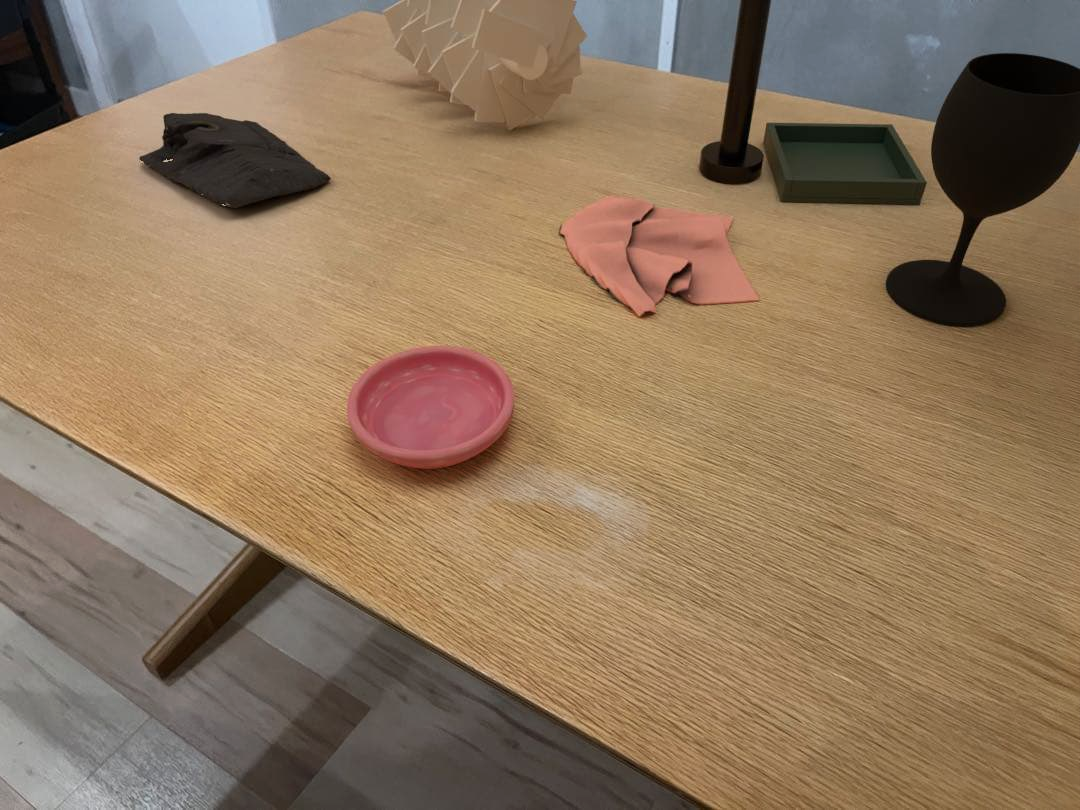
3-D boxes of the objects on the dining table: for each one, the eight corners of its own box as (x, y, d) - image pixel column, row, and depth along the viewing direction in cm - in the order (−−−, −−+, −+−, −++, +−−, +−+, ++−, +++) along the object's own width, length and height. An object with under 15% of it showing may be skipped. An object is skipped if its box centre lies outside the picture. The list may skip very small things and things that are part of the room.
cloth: (595, 189, 91) (596, 169, 89) (793, 232, 84) (798, 211, 82) (510, 283, 77) (509, 261, 76) (737, 344, 70) (741, 321, 69)
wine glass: (1029, 301, 74) (1134, 78, 61) (959, 341, 70) (1054, 112, 57) (931, 251, 81) (1006, 40, 67) (861, 285, 76) (926, 67, 63)
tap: (787, 157, 96) (858, -201, 73) (796, 185, 91) (877, -191, 68) (696, 156, 97) (740, -200, 74) (701, 183, 92) (749, -190, 69)
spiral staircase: (476, 97, 121) (567, 152, 104) (366, 65, 110) (448, 121, 93) (516, -35, 113) (621, 1, 97) (402, -84, 103) (498, -52, 86)
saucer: (534, 464, 60) (534, 433, 58) (364, 502, 57) (357, 471, 55) (493, 361, 69) (491, 331, 67) (344, 391, 66) (337, 360, 64)
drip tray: (886, 145, 98) (892, 124, 97) (919, 204, 88) (927, 182, 86) (762, 143, 99) (766, 122, 97) (780, 202, 88) (785, 179, 87)
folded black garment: (214, 231, 85) (201, 189, 82) (134, 161, 98) (120, 122, 94) (342, 184, 93) (334, 144, 89) (253, 124, 105) (243, 87, 102)
